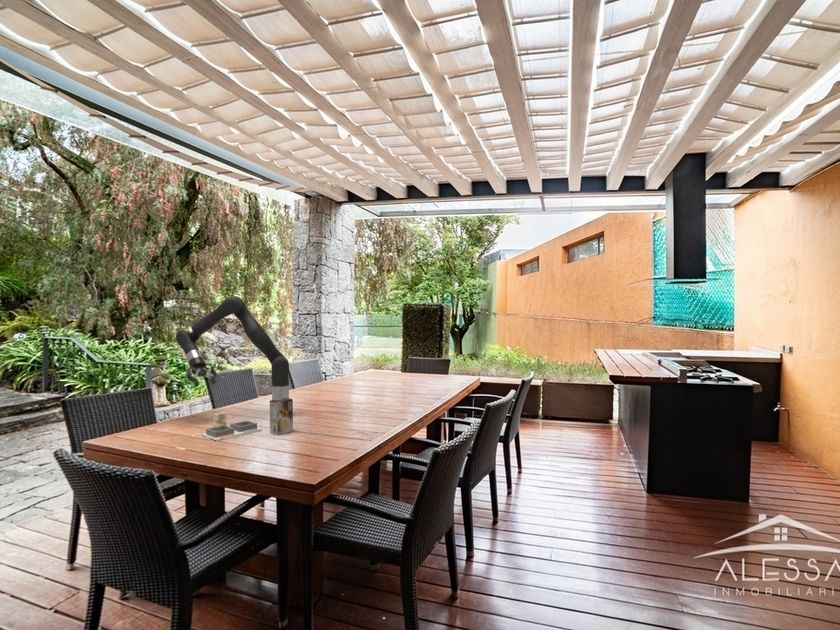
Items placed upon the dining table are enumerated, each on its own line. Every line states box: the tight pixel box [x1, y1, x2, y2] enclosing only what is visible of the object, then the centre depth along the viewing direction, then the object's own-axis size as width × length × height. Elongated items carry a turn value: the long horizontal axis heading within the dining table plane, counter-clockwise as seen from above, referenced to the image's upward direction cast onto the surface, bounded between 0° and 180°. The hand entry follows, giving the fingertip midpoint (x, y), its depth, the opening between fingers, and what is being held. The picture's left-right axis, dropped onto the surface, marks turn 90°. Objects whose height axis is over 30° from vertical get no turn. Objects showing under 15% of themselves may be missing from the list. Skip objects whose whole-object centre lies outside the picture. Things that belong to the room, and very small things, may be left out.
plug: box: [212, 411, 227, 428], centre depth 226 cm, size 4×4×8 cm
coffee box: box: [269, 397, 294, 436], centre depth 220 cm, size 9×6×16 cm
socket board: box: [201, 420, 262, 441], centre depth 218 cm, size 23×14×4 cm, turn 142°
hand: (206, 384), depth 234 cm, fingers open, 8 cm apart
